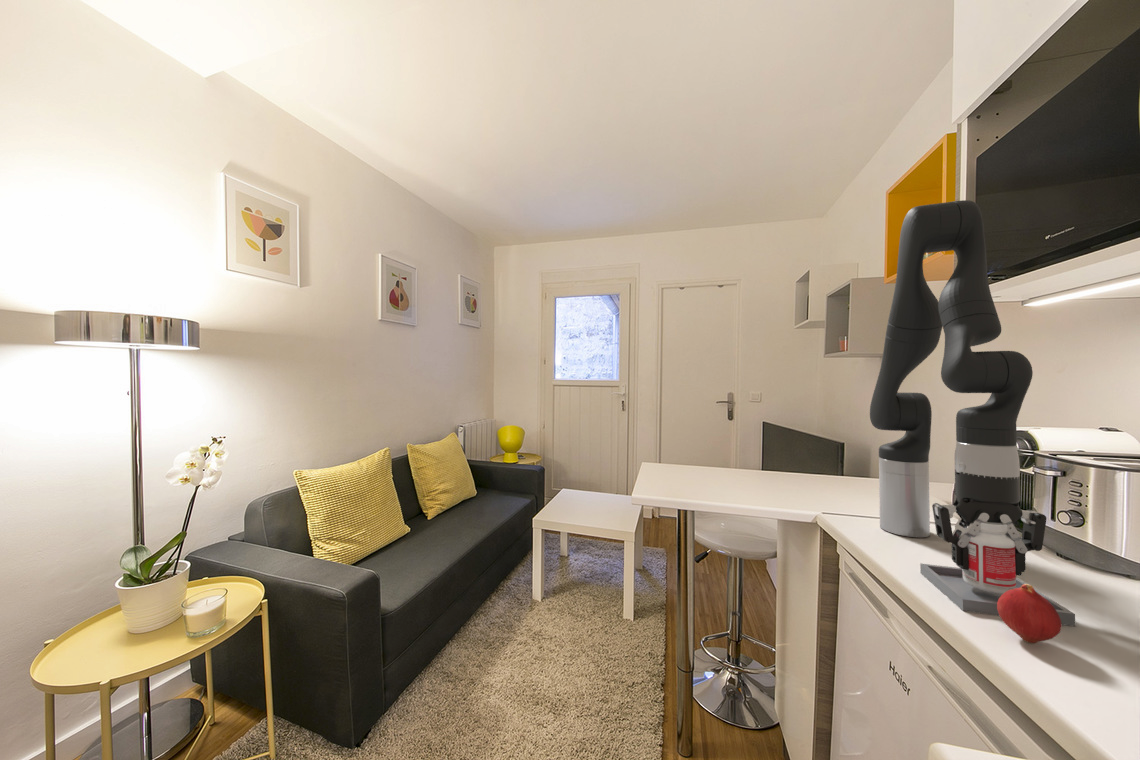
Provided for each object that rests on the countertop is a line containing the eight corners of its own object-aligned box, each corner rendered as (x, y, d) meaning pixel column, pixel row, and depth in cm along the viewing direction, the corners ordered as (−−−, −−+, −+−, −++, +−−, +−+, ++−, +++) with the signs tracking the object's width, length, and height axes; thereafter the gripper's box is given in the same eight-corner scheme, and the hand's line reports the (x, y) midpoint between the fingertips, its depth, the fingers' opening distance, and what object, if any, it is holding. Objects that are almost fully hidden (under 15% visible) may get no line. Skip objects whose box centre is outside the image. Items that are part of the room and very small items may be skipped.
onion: (994, 623, 59) (993, 569, 59) (1054, 639, 55) (1053, 581, 55) (1002, 643, 54) (1001, 585, 55) (1068, 662, 51) (1066, 599, 51)
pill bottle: (1022, 590, 65) (1021, 522, 65) (1007, 600, 62) (1006, 529, 62) (971, 574, 71) (970, 511, 71) (955, 582, 68) (954, 517, 68)
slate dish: (920, 573, 75) (920, 563, 75) (1010, 583, 70) (1010, 573, 70) (962, 610, 62) (962, 599, 62) (1075, 626, 58) (1075, 614, 58)
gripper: (1025, 468, 68) (1026, 566, 68) (921, 463, 72) (922, 555, 72) (1062, 478, 61) (1064, 588, 61) (945, 472, 65) (946, 574, 65)
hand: (987, 570), depth 66 cm, fingers closed on pill bottle, 6 cm apart
